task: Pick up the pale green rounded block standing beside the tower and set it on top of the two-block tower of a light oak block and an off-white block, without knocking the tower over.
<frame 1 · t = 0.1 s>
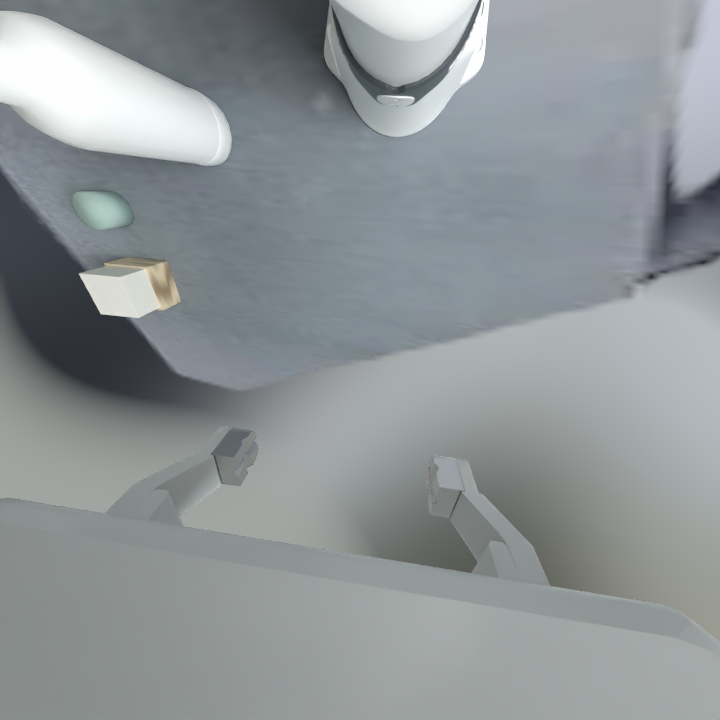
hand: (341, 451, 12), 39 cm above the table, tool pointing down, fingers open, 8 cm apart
pale green rounded block: (118, 209, 44), on the table
bottle: (206, 132, 37), on the table
tower top: (134, 287, 47), point 5 cm above the table, touching tower base
tower base: (155, 279, 51), on the table, touching tower top
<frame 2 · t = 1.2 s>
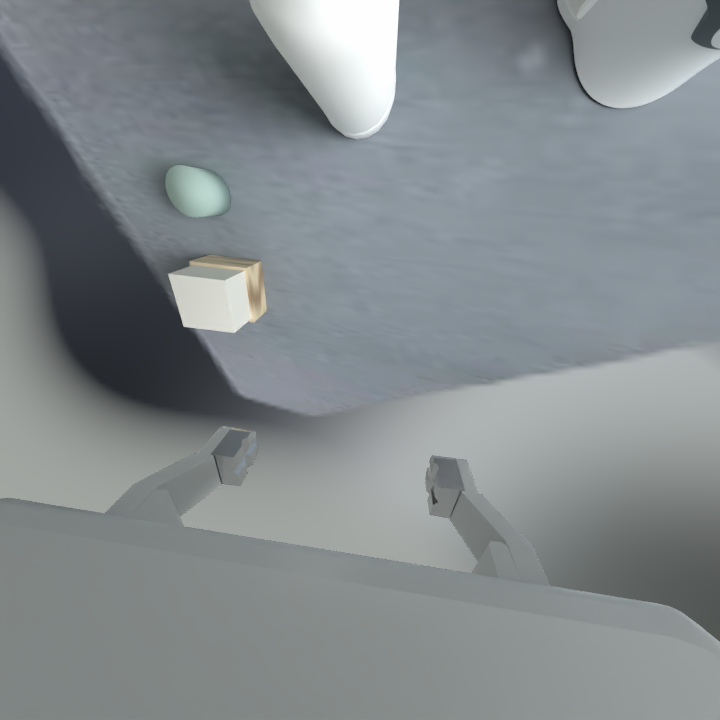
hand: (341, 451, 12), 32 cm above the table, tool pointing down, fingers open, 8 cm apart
pale green rounded block: (211, 193, 35), on the table
bottle: (358, 94, 28), on the table
tower top: (224, 292, 37), point 5 cm above the table, touching tower base
tower base: (240, 283, 41), on the table, touching tower top
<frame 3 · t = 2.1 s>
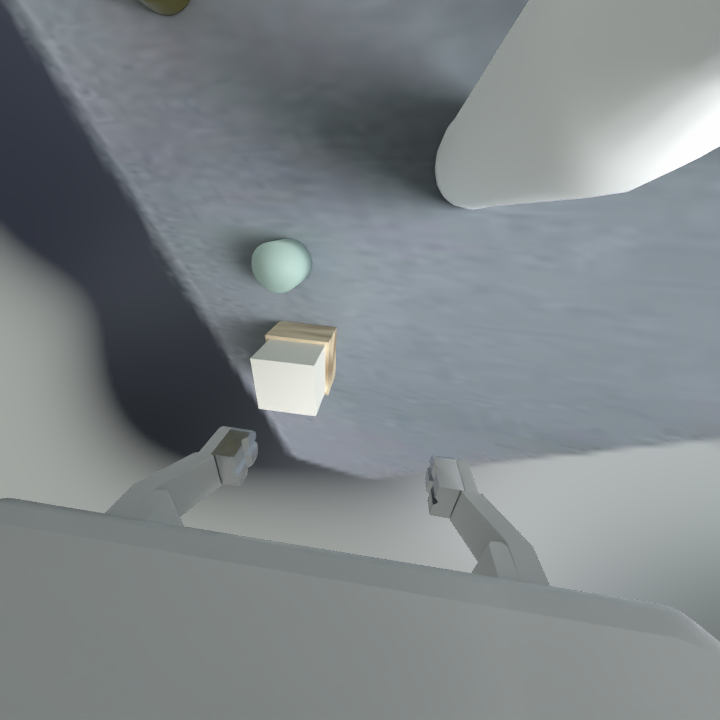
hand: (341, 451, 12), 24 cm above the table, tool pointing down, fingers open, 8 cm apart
pale green rounded block: (291, 261, 32), on the table
bottle: (475, 162, 25), on the table
tower top: (298, 366, 33), point 5 cm above the table, touching tower base
tower base: (309, 349, 38), on the table, touching tower top
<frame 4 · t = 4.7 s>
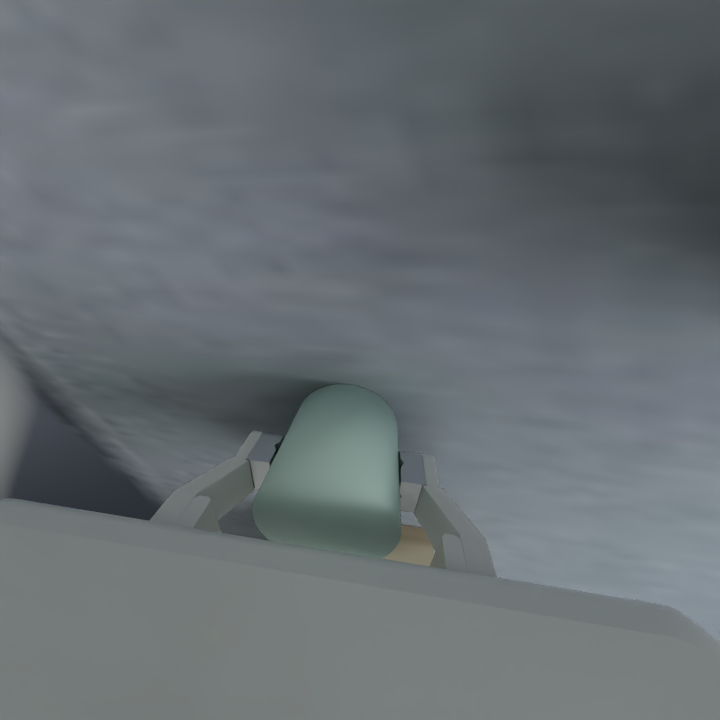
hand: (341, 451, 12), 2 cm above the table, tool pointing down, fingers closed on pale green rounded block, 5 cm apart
pale green rounded block: (346, 426, 13), on the table, touching gripper
tower base: (364, 548, 19), on the table, touching tower top
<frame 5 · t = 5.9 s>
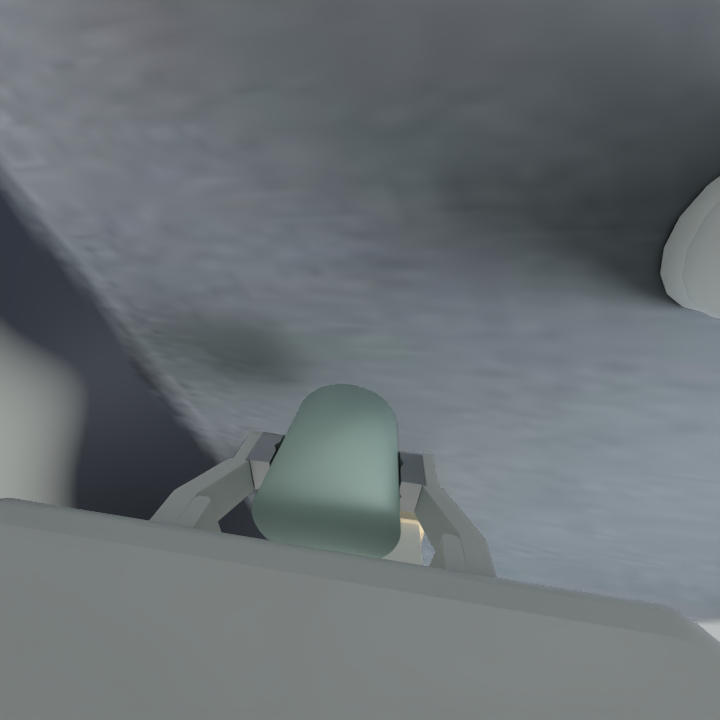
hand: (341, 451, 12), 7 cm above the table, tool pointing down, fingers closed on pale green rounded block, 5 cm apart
pale green rounded block: (346, 426, 13), point 6 cm above the table, touching gripper
tower top: (366, 545, 20), point 5 cm above the table, touching tower base
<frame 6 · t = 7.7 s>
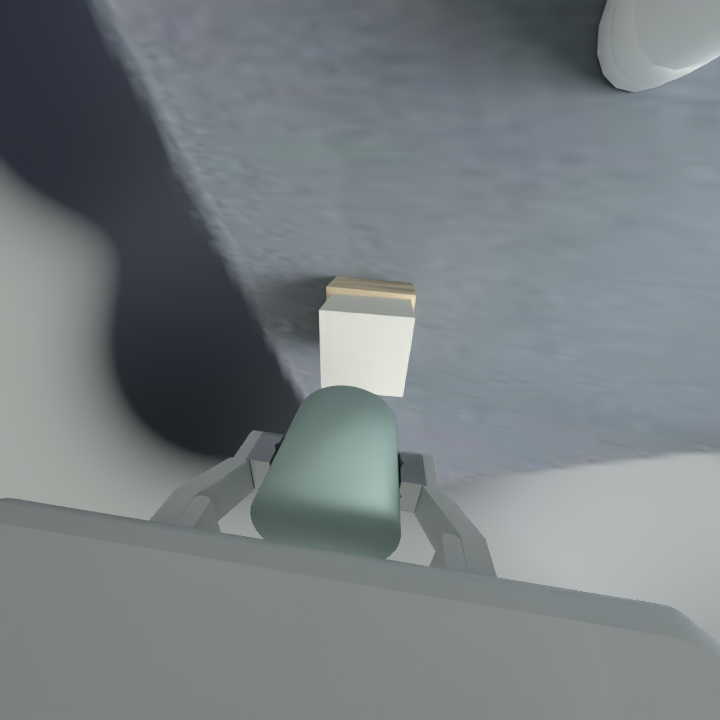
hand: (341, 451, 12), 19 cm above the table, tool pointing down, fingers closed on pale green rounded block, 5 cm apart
pale green rounded block: (346, 427, 13), point 18 cm above the table, touching gripper
bottle: (661, 14, 17), on the table
tower top: (368, 332, 25), point 5 cm above the table, touching tower base
tower base: (370, 315, 29), on the table, touching tower top
when the fingers open (13 cm above the table, at t = 9.2 s): pale green rounded block drops 1 cm, resting on tower top.
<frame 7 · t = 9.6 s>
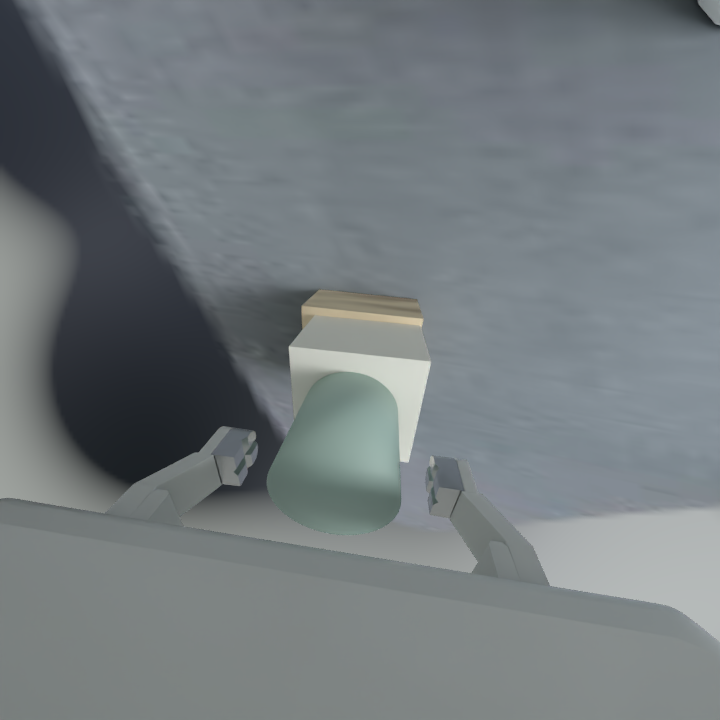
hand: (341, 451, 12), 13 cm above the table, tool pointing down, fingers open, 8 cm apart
pale green rounded block: (350, 412, 14), point 10 cm above the table, touching tower top
tower top: (363, 366, 19), point 5 cm above the table, touching pale green rounded block, tower base
tower base: (363, 338, 23), on the table, touching tower top
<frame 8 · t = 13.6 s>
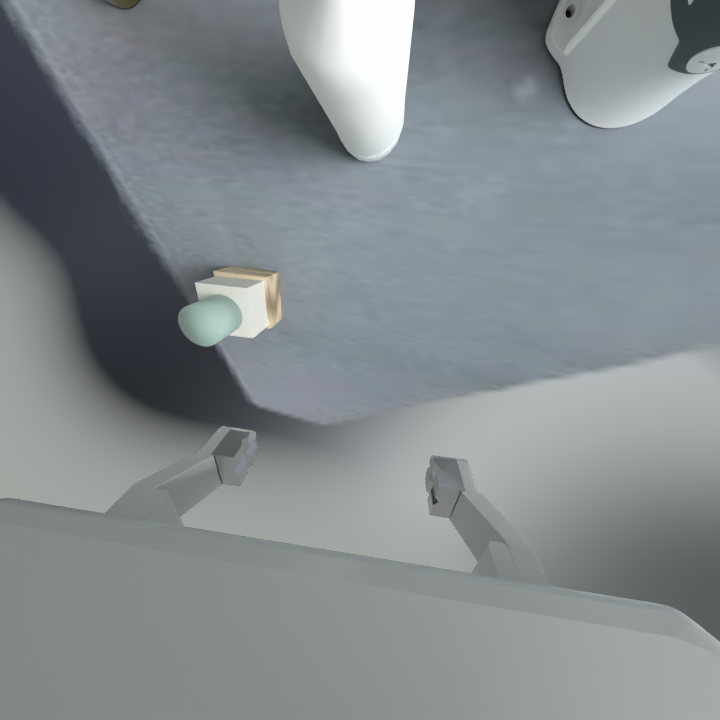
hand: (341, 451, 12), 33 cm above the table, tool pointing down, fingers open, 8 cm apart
pale green rounded block: (223, 313, 35), point 10 cm above the table, touching tower top
bottle: (370, 124, 32), on the table
tower top: (243, 301, 39), point 5 cm above the table, touching pale green rounded block, tower base
tower base: (257, 293, 44), on the table, touching tower top
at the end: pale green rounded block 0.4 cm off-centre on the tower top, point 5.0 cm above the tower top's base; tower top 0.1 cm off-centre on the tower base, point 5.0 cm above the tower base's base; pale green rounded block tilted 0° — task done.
